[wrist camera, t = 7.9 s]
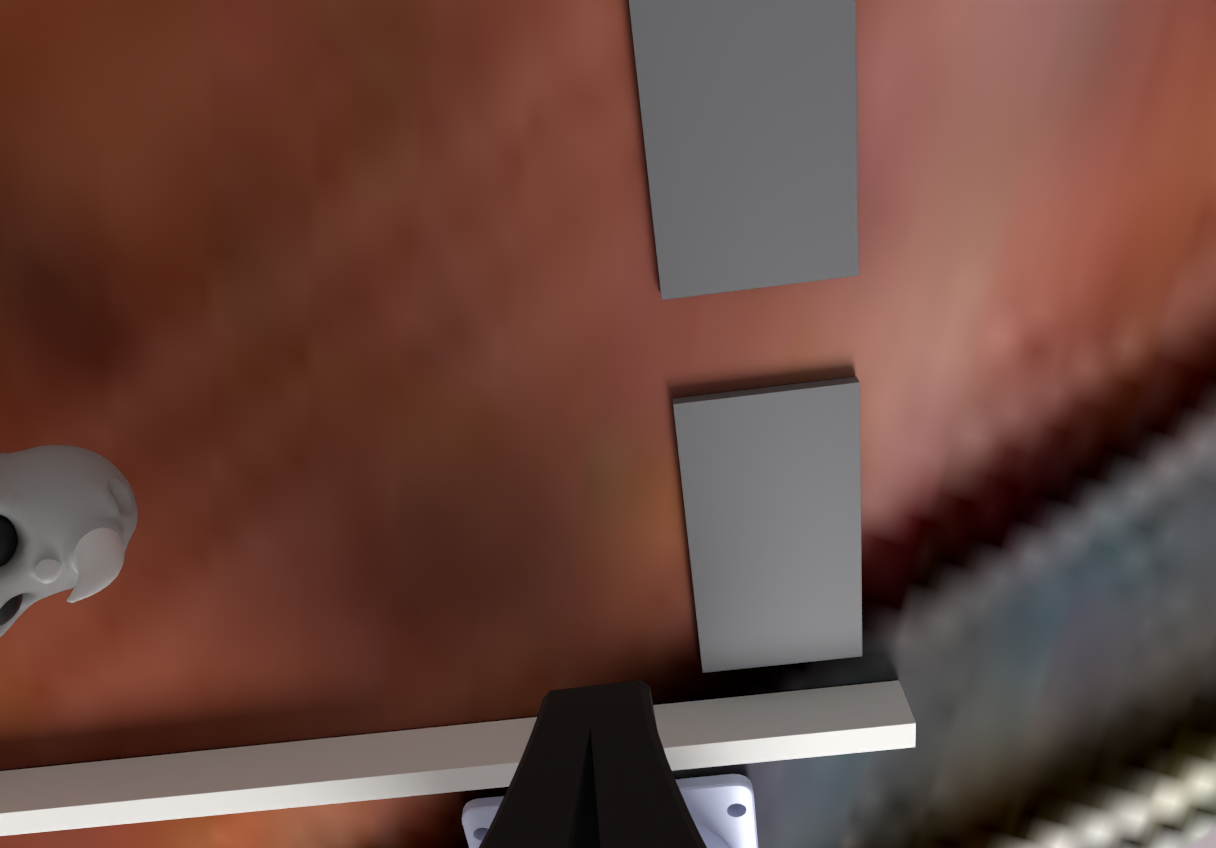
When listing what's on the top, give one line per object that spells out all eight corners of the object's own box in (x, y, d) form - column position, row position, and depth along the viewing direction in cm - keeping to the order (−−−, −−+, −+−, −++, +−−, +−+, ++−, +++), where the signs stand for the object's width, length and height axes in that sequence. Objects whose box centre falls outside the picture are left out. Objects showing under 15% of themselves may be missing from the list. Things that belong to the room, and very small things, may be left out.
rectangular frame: (898, 703, 25) (927, 778, 23) (-162, 809, 26) (-231, 889, 24) (912, -316, 15) (965, -359, 13) (-773, -49, 17) (-985, -46, 14)
